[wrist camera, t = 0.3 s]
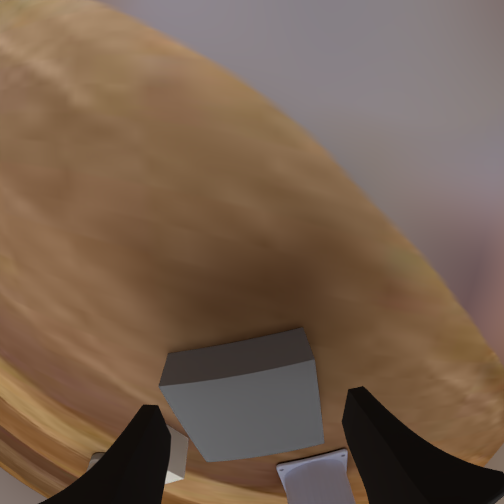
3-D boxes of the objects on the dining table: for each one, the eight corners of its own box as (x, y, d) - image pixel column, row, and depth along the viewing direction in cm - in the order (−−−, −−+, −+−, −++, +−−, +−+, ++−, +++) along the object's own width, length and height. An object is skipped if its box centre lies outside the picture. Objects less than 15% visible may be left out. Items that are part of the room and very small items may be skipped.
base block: (314, 410, 24) (324, 443, 20) (209, 428, 24) (206, 462, 20) (301, 324, 20) (314, 359, 17) (169, 350, 21) (158, 386, 17)
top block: (163, 448, 24) (157, 485, 20) (133, 429, 23) (122, 467, 19) (188, 437, 24) (184, 478, 19) (157, 417, 23) (147, 459, 18)
